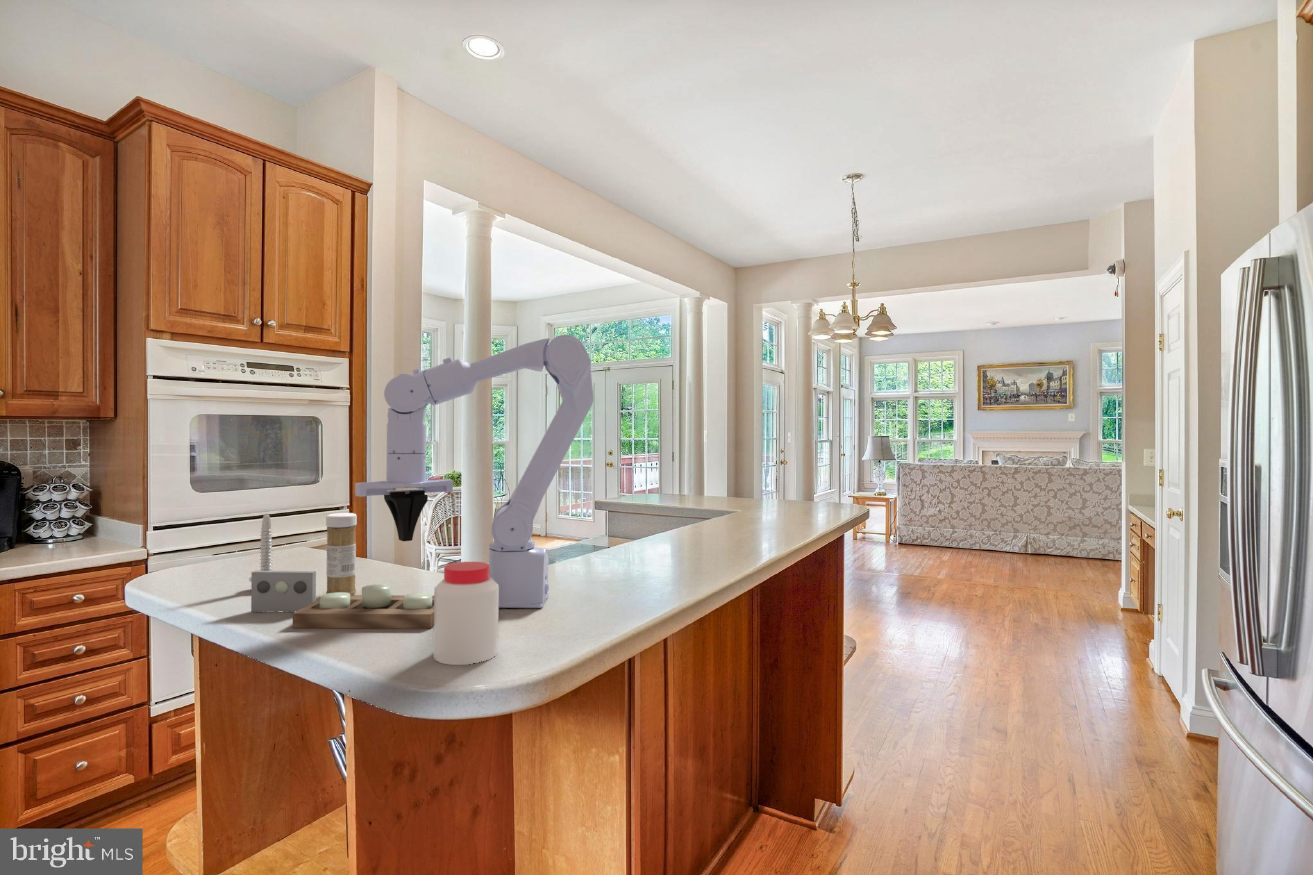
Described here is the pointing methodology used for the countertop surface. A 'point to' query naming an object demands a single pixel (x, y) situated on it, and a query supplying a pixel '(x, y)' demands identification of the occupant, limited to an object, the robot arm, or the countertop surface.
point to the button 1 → (335, 600)
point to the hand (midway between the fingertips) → (405, 540)
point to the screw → (265, 545)
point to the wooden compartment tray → (364, 616)
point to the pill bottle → (466, 614)
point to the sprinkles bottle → (341, 552)
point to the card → (282, 590)
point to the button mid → (376, 595)
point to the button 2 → (417, 601)
